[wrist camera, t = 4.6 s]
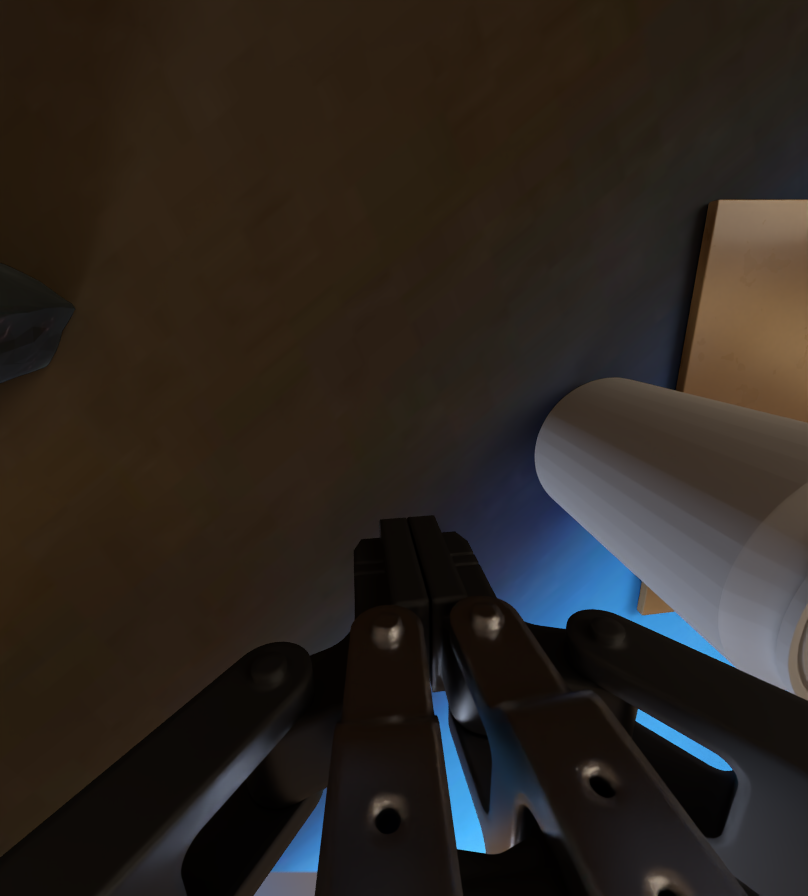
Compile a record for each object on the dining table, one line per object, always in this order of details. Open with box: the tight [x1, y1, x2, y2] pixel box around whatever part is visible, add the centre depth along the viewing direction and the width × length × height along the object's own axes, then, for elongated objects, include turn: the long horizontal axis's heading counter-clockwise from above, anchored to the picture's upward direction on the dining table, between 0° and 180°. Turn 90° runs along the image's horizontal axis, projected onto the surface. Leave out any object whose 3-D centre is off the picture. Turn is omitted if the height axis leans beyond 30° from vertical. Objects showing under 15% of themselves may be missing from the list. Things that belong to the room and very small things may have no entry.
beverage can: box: [535, 378, 808, 700], centre depth 14 cm, size 6×6×12 cm
